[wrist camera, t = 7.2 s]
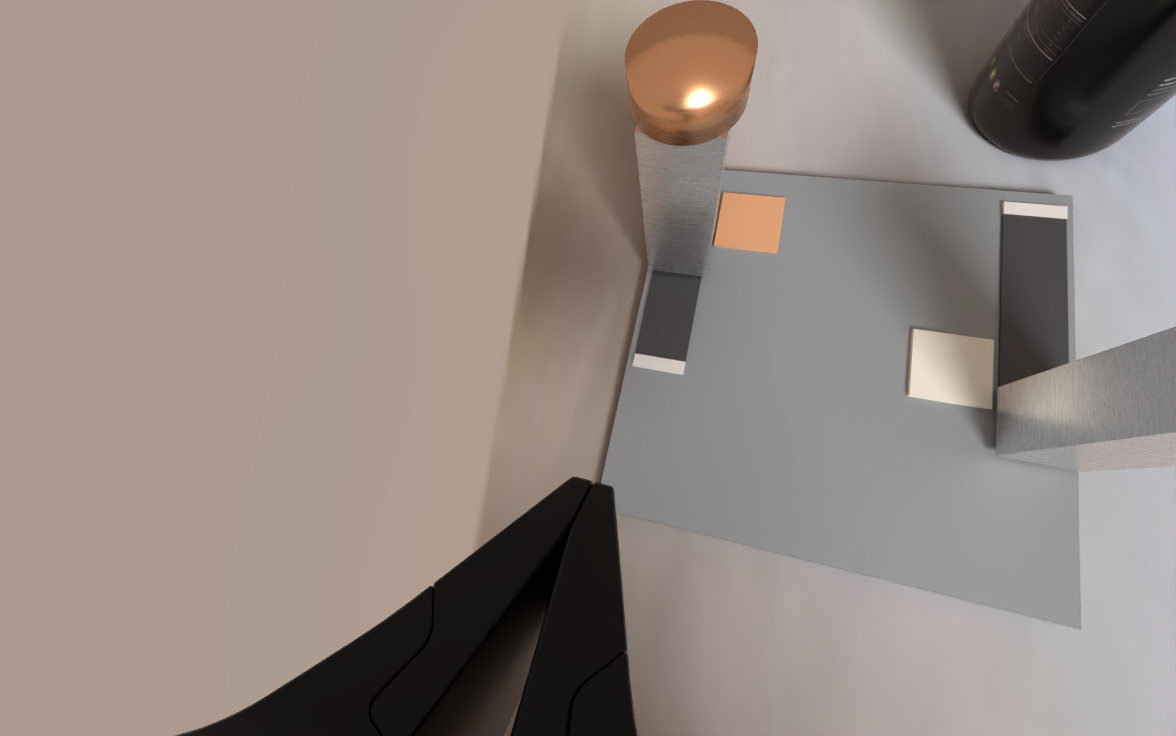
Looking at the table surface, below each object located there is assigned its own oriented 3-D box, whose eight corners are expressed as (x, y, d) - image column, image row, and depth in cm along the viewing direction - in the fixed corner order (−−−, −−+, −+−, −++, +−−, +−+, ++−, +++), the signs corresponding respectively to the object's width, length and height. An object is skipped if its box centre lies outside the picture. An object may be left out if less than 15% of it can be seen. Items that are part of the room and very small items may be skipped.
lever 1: (712, 285, 22) (747, 105, 12) (638, 275, 23) (612, 99, 13) (724, 220, 23) (766, -1, 13) (652, 213, 24) (639, 0, 14)
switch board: (1067, 625, 17) (1085, 631, 16) (597, 506, 21) (594, 507, 20) (1061, 203, 21) (1076, 192, 20) (670, 173, 25) (670, 163, 24)
